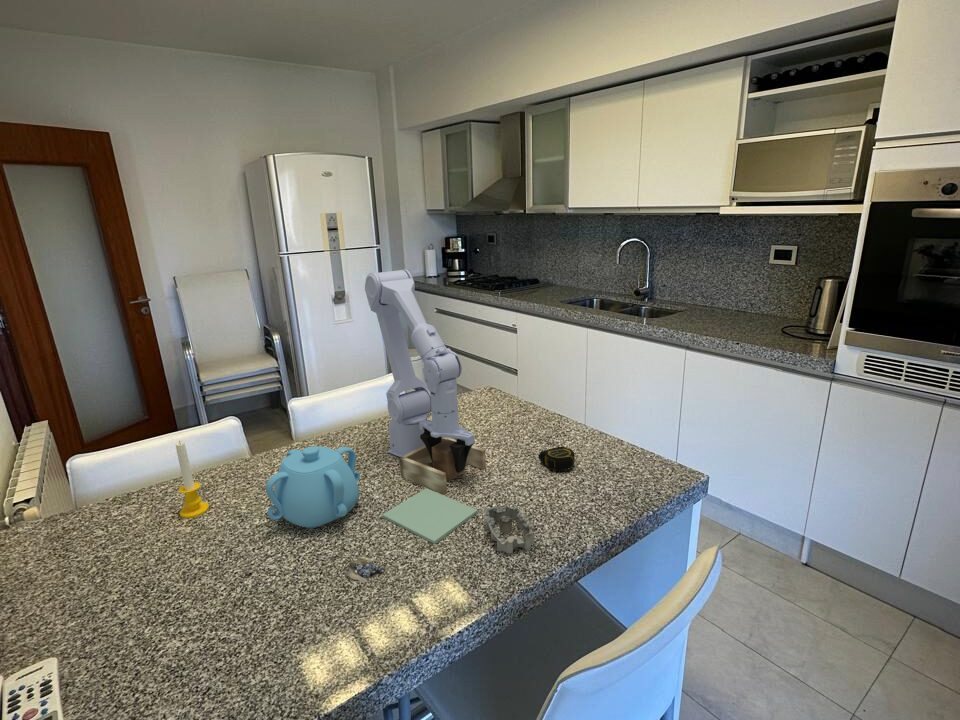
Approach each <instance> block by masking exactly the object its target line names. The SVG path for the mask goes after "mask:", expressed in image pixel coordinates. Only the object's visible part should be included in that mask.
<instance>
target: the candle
mask: <svg viewBox="0 0 960 720" xmlns="http://www.w3.org/2000/svg"><path fill="white" fill-rule="evenodd" d="M175 449H176V454H177V460H178V464H179V468H180V473H181V477H182V482H183V485H182V486H180V487H179V488H178V492H179V493H181V494H184V497H185V500H184V501H183V506H184V507H183V508H182V509H181V510H180V511H179V516H180V517H181V518H183V519H192V518H196V517H200V516H202V515H204V514H205V513H206V512H208V511H209V509H210V505H209V503H208V502H206V501H203V499H202V497H201V496H199V495H198V491H197V490H198V489H199V488H200V487H201V485H202V484H201V483H200V482H194V478H193V474H192V469H191V465H190V461H189V456H188V453H187V452H188V451H187V448H186V445H185V442H184V441H182V440H178V441H177V442H176V443H175Z"/></svg>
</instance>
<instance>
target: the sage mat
mask: <svg viewBox="0 0 960 720" xmlns="http://www.w3.org/2000/svg"><path fill="white" fill-rule="evenodd" d="M477 514H479V510H478V509H477V508H474V507H472V506H469V505H467V504H465V503H462V502H459V501H458V500H455V499H453V498H451V497H448V496H446V495H445V494H441V493H439V492H437V491H434V490H432V489H430V488H427V487H425V488H424V489H423V490H420V491H419V492H418V493H416V494H413V495H412V496H411V497H409V498H408V499H405V500H404V501H402V502H401V503H399V504H397V505H395V506H394V507H393V508H391V509H389V510H387V511H385V512H384V513H382V515H381V517H382V518H383V519H385V520H387V521H389V522H390V523H393V524H395V525H396V526H399V527H401V528H402V529H403V530H406V531H409V532H410V533H412V534H414V535H416V536H418V537H420V538H422V539H424V540H426V541H428V542H429V543H431V544H434V545H435V544H437V543H438V542H440V541H441V540H443V539H444V538H445V537H447V536H448V535H449V534H451V533H452V532H453V531H455V530H456V529H458V528H459V527H461V526H462V525H463V524H464V523H466V522H467V521H468V520H470V519H472V518H473V517H474V516H475V515H477Z"/></svg>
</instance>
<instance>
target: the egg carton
mask: <svg viewBox="0 0 960 720" xmlns="http://www.w3.org/2000/svg"><path fill="white" fill-rule="evenodd" d="M483 513H484V518H485V520H484V521H485V529H486V530H487V531H489V530H490V538H491V540H492V541H496V549H497V551H498V552H504V553H506V554H507V555H508V554H509V555H510V554H513V553H514V550H515V549H516V548H521V549H523V550H531V546H532V545H533V544H534V541H535V533H536V528H535V525H534V524H533V522H531V521H530V520H529V518H527V516H526V514H525V513H524V512H522V511H521V510H519V508H518V506H516V504H513V505H512V506H510V507H509V506H508V505H507V504H506V505H504V506H493V507H483ZM513 520H515V521H516V527H517V529H519V530H522V533H523V534H522V535H523V536H522V537H517V536H515V535H510V536H507V538H502V533H503V534H511V533H512V532H513ZM496 524H499V528H498V527H496Z"/></svg>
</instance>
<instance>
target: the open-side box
mask: <svg viewBox="0 0 960 720" xmlns="http://www.w3.org/2000/svg"><path fill="white" fill-rule="evenodd" d="M446 439H449V440H452V441H455V442H457V441H456V440H455V439H452V438H447V437H442V440H441V442H442V441H444V440H446ZM398 459H399V460H398V461H399V469H400V477H401V478H404V479H405V480H409V481H410V482H414V483H415V484H418V485H421V486H423V487H425V488H427V489H430V490H432V491H434V492H437V493H439V494H441V495H445V494H447V493H448V489H447V487H448V486H447V485H448V484H447V481H446V473H445V472H442V471H439V470H437V469H434V468H433V466H432V467H431V466H429V464H433V463H432V460H431V457H430V455H429V452H428V450H427V448H426V446H425V445H424V446H422V447H420V448H418V449H416V450H414V451H412V452H410V453H408V454H406V455H404V456H402V457H399V458H398ZM486 460H487V459H486V449H485V448H481V447H478V446H474V444H473V445H472V447H471V449H470V451H469V454H468V457H467V460H466V464H467V465H470V466H471V467H472V466H473V467H474V468H478V469H481V470H484V469H486V468H487V463H486Z"/></svg>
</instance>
